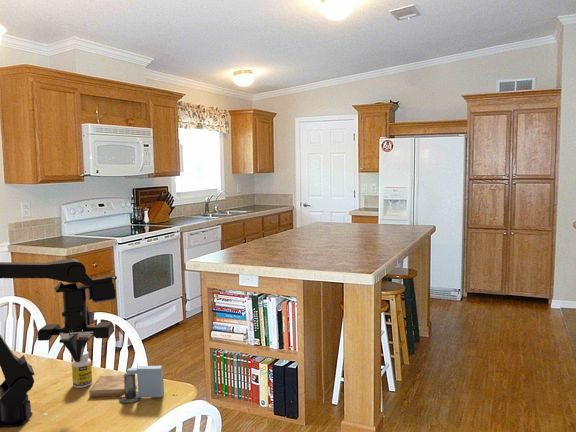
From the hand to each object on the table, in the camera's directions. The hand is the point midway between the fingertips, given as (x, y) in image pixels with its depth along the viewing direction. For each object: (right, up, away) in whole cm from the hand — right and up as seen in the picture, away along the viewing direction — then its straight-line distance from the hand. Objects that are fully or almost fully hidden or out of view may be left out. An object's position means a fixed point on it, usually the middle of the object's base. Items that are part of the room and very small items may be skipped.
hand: (78, 361), depth 137 cm
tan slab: (+8, -11, +8) cm, 16 cm away
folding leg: (+17, -11, +4) cm, 21 cm away
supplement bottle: (-4, -11, +14) cm, 18 cm away
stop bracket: (+20, -11, +6) cm, 24 cm away
